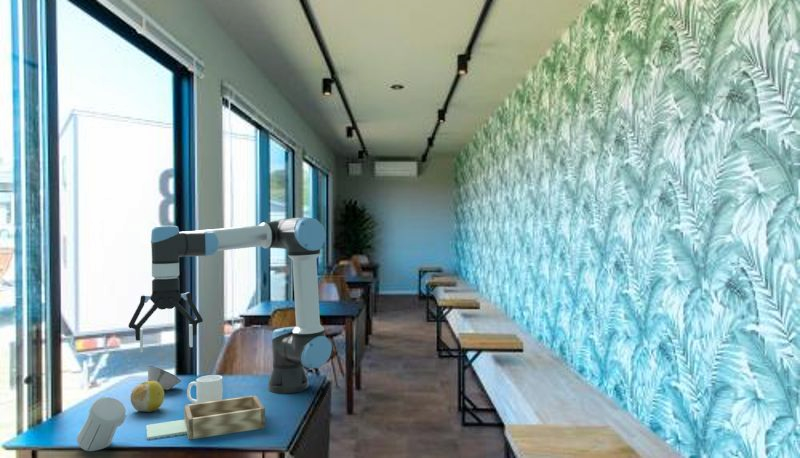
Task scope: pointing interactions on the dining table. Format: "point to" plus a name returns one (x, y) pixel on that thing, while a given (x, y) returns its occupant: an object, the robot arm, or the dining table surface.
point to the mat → (166, 429)
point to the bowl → (162, 377)
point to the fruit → (147, 396)
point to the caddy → (224, 417)
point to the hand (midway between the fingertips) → (166, 348)
